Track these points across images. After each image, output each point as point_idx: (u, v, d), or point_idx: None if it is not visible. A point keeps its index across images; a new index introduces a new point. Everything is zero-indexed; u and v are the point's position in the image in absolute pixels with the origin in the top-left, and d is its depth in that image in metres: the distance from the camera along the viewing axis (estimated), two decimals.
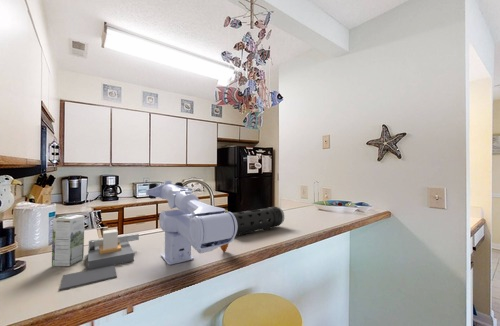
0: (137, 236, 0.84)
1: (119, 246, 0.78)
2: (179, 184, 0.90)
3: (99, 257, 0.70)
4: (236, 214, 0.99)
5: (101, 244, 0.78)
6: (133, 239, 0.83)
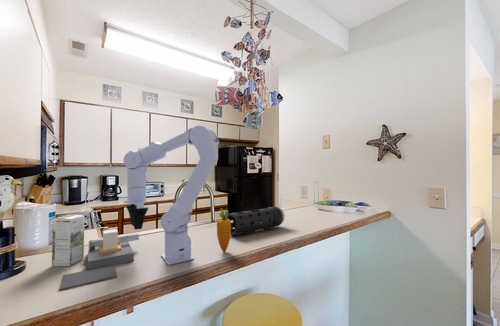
0: (137, 236, 0.84)
1: (119, 246, 0.78)
2: (128, 205, 0.82)
3: (99, 257, 0.70)
4: (236, 214, 0.99)
5: (101, 244, 0.78)
6: (133, 239, 0.83)
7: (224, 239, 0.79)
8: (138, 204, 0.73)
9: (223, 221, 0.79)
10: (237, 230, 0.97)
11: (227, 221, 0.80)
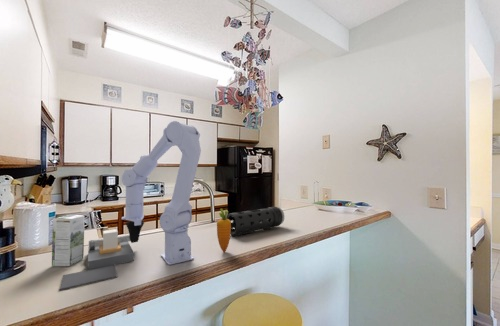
0: None
1: (119, 246, 0.78)
2: (127, 222, 0.83)
3: (99, 257, 0.70)
4: (236, 214, 0.99)
5: (101, 244, 0.78)
6: None
7: (224, 239, 0.79)
8: (136, 221, 0.77)
9: (223, 221, 0.79)
10: (237, 230, 0.97)
11: (227, 221, 0.80)
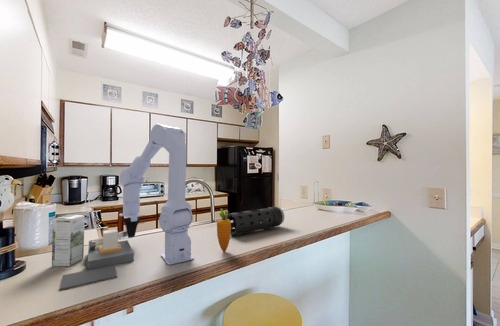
0: None
1: (119, 246, 0.78)
2: (125, 219, 0.89)
3: (99, 257, 0.70)
4: (236, 214, 0.99)
5: (100, 243, 0.79)
6: (125, 235, 0.88)
7: (224, 239, 0.79)
8: (132, 217, 0.83)
9: (223, 221, 0.79)
10: (237, 230, 0.97)
11: (227, 221, 0.80)
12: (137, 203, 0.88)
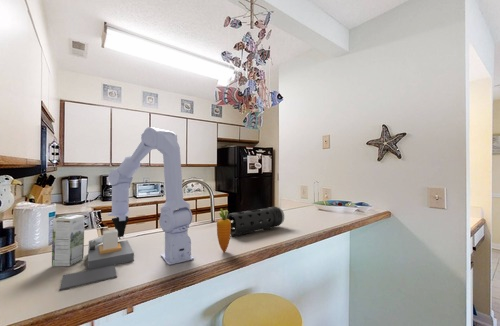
0: None
1: (119, 246, 0.78)
2: (114, 218, 0.90)
3: (99, 257, 0.70)
4: (236, 214, 0.99)
5: (98, 242, 0.80)
6: None
7: (224, 239, 0.79)
8: (120, 217, 0.83)
9: (223, 221, 0.79)
10: (237, 230, 0.97)
11: (227, 221, 0.80)
12: (126, 203, 0.89)
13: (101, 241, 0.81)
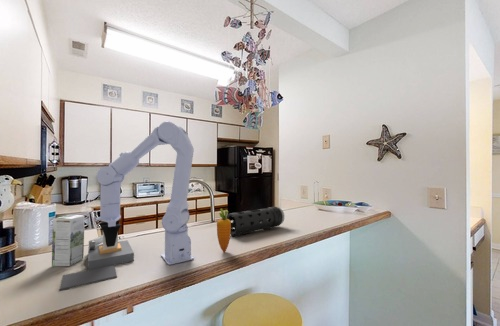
0: None
1: (119, 246, 0.78)
2: (102, 222, 0.79)
3: (99, 257, 0.70)
4: (236, 214, 0.99)
5: (98, 242, 0.80)
6: None
7: (224, 239, 0.79)
8: (109, 222, 0.71)
9: (223, 221, 0.79)
10: (237, 230, 0.97)
11: (227, 221, 0.80)
12: (117, 205, 0.77)
13: (101, 241, 0.81)
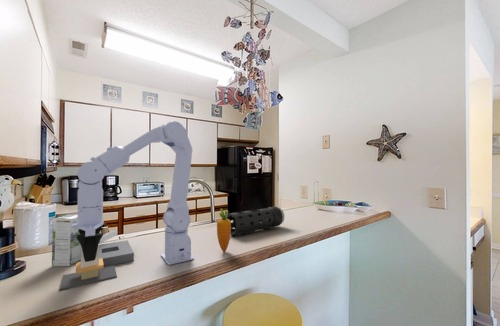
0: (116, 232, 0.91)
1: (101, 263, 0.64)
2: (81, 229, 0.66)
3: (99, 257, 0.70)
4: (236, 214, 0.99)
5: None
6: (114, 235, 0.89)
7: (224, 239, 0.79)
8: (87, 231, 0.57)
9: (223, 221, 0.79)
10: (237, 230, 0.97)
11: (227, 221, 0.80)
12: (98, 209, 0.63)
13: (101, 241, 0.81)
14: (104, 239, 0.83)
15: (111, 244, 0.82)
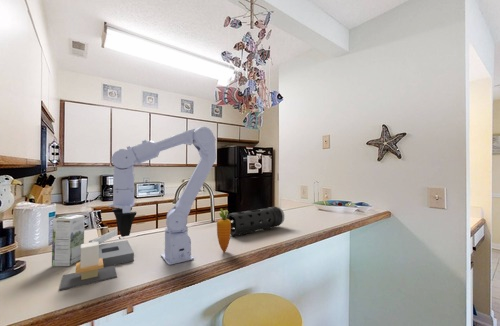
0: (116, 232, 0.91)
1: (101, 263, 0.64)
2: (115, 209, 0.75)
3: (99, 257, 0.70)
4: (236, 214, 0.99)
5: None
6: (114, 235, 0.89)
7: (224, 239, 0.79)
8: (124, 208, 0.66)
9: (223, 221, 0.79)
10: (237, 230, 0.97)
11: (227, 221, 0.80)
12: (131, 191, 0.71)
13: (101, 241, 0.81)
14: (104, 239, 0.83)
15: (111, 244, 0.82)
